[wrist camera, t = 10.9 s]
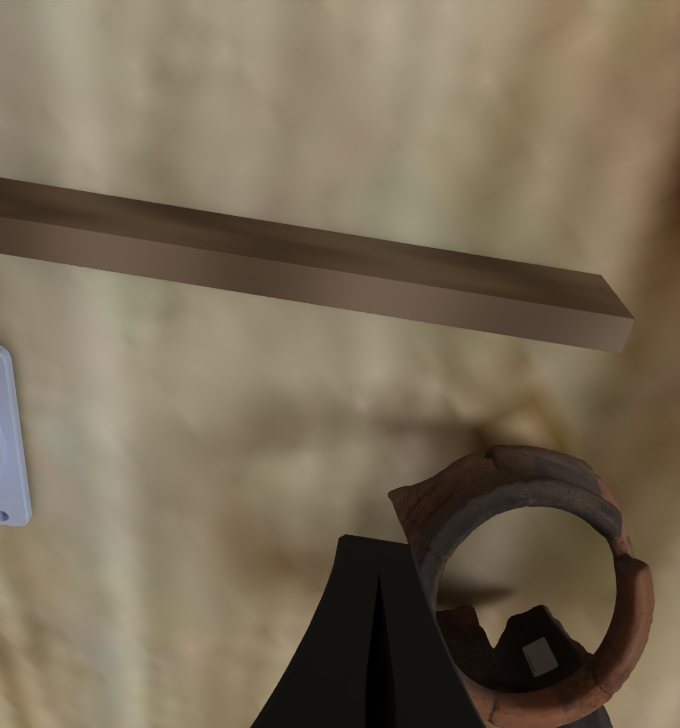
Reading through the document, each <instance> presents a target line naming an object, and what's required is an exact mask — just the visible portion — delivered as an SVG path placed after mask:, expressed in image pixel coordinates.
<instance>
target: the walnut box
mask: <svg viewBox="0 0 680 728" xmlns="http://www.w3.org/2000/svg"><path fill="white" fill-rule="evenodd" d="M0 253H1V254H7V255H13V256H19V257H25V258H32V259H38V260H44V261H50V262H56V263H63V264H69V265H75V266H81V267H87V268H94V269H100V270H106V271H112V272H118V273H124V274H131V275H137V276H143V277H149V278H155V279H162V280H168V281H174V282H180V283H186V284H193V285H199V286H205V287H211V288H217V289H224V290H230V291H236V292H242V293H248V294H254V295H261V296H267V297H273V298H279V299H285V300H292V301H298V302H304V303H310V304H316V305H323V306H329V307H335V308H341V309H347V310H354V311H360V312H366V313H372V314H378V315H384V316H391V317H397V318H403V319H409V320H415V321H422V322H428V323H434V324H440V325H446V326H453V327H459V328H465V329H471V330H477V331H484V332H490V333H496V334H502V335H508V336H514V337H521V338H527V339H533V340H539V341H545V342H552V343H558V344H564V345H570V346H576V347H583V348H589V349H595V350H601V351H607V352H614V353H620V354H621V352H622V350H623V348H624V345H625V343H626V340H627V338H628V336H629V333H630V331H631V328H632V326H633V324H634V321H635V318H634V317H633V316H632V314H631V313H630V312H629V311H628V309H627V308H626V307H625V305H624V304H623V303H622V302H621V300H620V299H619V298H618V296H617V295H616V294H615V293H614V291H613V290H612V289H611V287H610V286H609V285H608V284H607V282H606V281H605V280H604V278H603V277H602V276H601V275H595V274H589V273H583V272H577V271H570V270H564V269H558V268H552V267H546V266H540V265H533V264H527V263H521V262H515V261H509V260H503V259H496V258H490V257H484V256H478V255H472V254H466V253H459V252H453V251H447V250H441V249H435V248H429V247H422V246H416V245H410V244H404V243H398V242H392V241H385V240H379V239H373V238H367V237H361V236H355V235H349V234H342V233H336V232H330V231H324V230H318V229H312V228H305V227H299V226H293V225H287V224H281V223H275V222H268V221H262V220H256V219H250V218H244V217H238V216H231V215H225V214H219V213H213V212H207V211H201V210H194V209H188V208H182V207H176V206H170V205H164V204H158V203H151V202H145V201H139V200H133V199H127V198H121V197H114V196H108V195H102V194H96V193H90V192H84V191H77V190H71V189H65V188H59V187H53V186H47V185H40V184H34V183H28V182H22V181H16V180H10V179H3V178H0Z"/></svg>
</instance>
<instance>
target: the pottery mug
mask: <svg viewBox="0 0 680 728" xmlns="http://www.w3.org/2000/svg"><path fill="white" fill-rule="evenodd" d="M388 497H389V498H390V500H391V501H392V503H393V506H394V509H395V511H396V514H397V517H398V519H399V521H400V523H401V525H402V527H403V530H404V533H405V535H406V537H407V542H408V544H409V545H410V546H411V547H412V548H413V549H414V552H415V556H416V560H417V563H418V567H419V571H420V574H421V577H422V580H423V583H424V586H425V589H426V592H427V595H428V598H429V601H430V604H431V606H432V609H433V612H434V615H435V617H436V620H437V622H438V625H439V627H440V630H441V632H442V635H443V637H444V639H445V642H446V644H447V647H448V649H449V651H450V654H451V656H452V659H453V661H454V663H455V665H456V667H457V670H458V672H459V674H460V676H461V678H462V680H463V683H464V685H465V687H466V689H467V691H468V693H469V695H470V697H471V699H472V701H473V703H474V705H475V707H476V709H477V711H478V713H479V715H480V717H481V719H482V721H489V722H490V723H491V724H493V725H494V726H496V727H500V728H613V727H612V724H611V721H610V718H609V715H608V713H607V711H606V709H605V707H604V705H603V704H604V703H606V702H607V701H609V700H610V699H611V697H612V695H613V694H614V693H615V692H617V691H618V690H619V689H620V688H621V686H622V685H623V683H624V682H625V681H626V680H627V679H628V678H629V676H630V674H631V672H632V671H633V669H634V668H635V666H636V664H637V662H638V661H639V659H640V657H641V655H642V653H643V650H644V648H645V645H646V643H647V641H648V634H649V631H650V626H651V624H652V619H653V610H654V603H655V600H654V590H653V581H652V575H651V571H650V567H649V565H648V564H646V563H644V562H643V561H640V560H638V559H635V556H634V552H633V547H632V544H631V541H630V539H629V537H628V531H627V526H626V523H625V518H624V515H623V512H622V510H621V508H620V506H619V504H618V502H617V501H616V499H615V497H614V495H613V494H612V492H611V491H610V489H609V488H608V486H607V485H606V484H605V483H604V482H603V480H602V479H601V478H600V477H599V476H597V475H596V474H595V473H594V472H593V470H592V468H591V467H590V466H589V465H588V464H587V463H586V462H584V461H583V460H580V459H577V458H575V457H572V456H570V455H567V454H564V453H560V452H557V451H553V450H548V449H545V448H539V447H531V446H506V445H497V446H493V447H490V448H489V449H488V451H487V453H486V456H485V458H484V457H482V456H479V455H477V454H469V455H466V456H464V457H462V458H461V459H459V460H457V461H455V462H453V463H452V464H451V465H449V466H448V467H447V468H446V469H444V470H443V471H441V472H439V473H438V474H437V475H435V476H433V477H431V478H429V479H427V480H425V481H423V482H420V483H417V484H415V485H412V486H404V487H400V488H397V489H395V490H392V491H390V492H389V493H388ZM525 506H529V507H552V508H557V509H562V510H564V511H567V512H570V513H572V514H575V515H577V516H578V517H580V518H582V519H583V520H585V521H586V522H587V523H589V524H590V525H591V526H592V527H593V528H594V529H595V530H596V531H597V532H599V533H600V534H601V535H602V536H604V537H605V538H606V539H607V541H608V543H609V545H610V548H611V551H612V553H613V559H614V568H615V574H616V588H617V595H616V603H615V609H614V613H613V617H612V620H611V623H610V626H609V628H608V631H607V633H606V635H605V637H604V639H603V641H602V643H601V644H600V646H599V648H598V649H597V651H596V652H595V653H594V654H591V653H588V652H587V651H586V650H585V648H584V647H583V646H582V645H581V644H580V643H578V642H576V641H575V640H573V639H571V638H570V636H569V635H568V633H567V632H566V631H565V630H564V628H563V626H562V625H561V623H560V621H559V620H557V619H555V618H553V616H552V614H551V612H550V610H549V609H548V607H546V606H544V605H538V606H536V607H533V608H532V609H530V610H529V611H527V612H524V613H521V614H517V615H514V616H511V617H510V618H509V619H508V621H507V625H506V628H505V630H504V632H503V633H502V635H501V637H500V639H499V641H498V643H497V645H496V647H495V648H492V646H491V645H490V643H489V641H488V638H487V635H486V633H485V631H484V630H483V628H482V627H481V626H480V625H479V621H478V618H477V615H476V612H475V609H474V608H473V607H472V606H471V605H468V606H464V607H460V608H457V609H454V610H445V611H436V601H437V593H438V587H439V584H440V579H441V576H442V574H443V571H444V567H445V564H446V562H447V559H448V558H450V556H451V555H452V554H453V552H454V551H455V549H456V548H457V547H458V545H459V544H460V543H462V542H463V541H464V540H465V538H466V537H467V536H468V535H469V534H470V533H471V532H472V531H473V530H475V529H476V528H477V527H478V526H479V525H481V524H482V523H483V522H485V521H487V520H488V519H490V518H491V517H493V516H495V515H497V514H500V513H503V512H505V511H509V510H512V509H516V508H521V507H525Z"/></svg>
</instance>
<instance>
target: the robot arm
mask: <svg viewBox="0 0 680 728" xmlns="http://www.w3.org/2000/svg"><path fill="white" fill-rule="evenodd" d="M4 512H5V513H4ZM31 517H32V509H31V502H30V494H29V487H28V479H27V472H26V464H25V456H24V449H23V441H22V434H21V426H20V419H19V411H18V404H17V396H16V389H15V381H14V374H13V366H12V359H11V356H10V353H9V352H8V351H7V349H6V348H4V347H3V346H1V345H0V524H3V525H9V526H16V527H22V526H25V525H26V524H27V523H28V522H29V520H30V519H31ZM250 728H486V726H485V725H484V723H483V721H482V719H481V717H480V715H479V713H478V711H477V709H476V707H475V705H474V703H473V701H472V699H471V697H470V695H469V693H468V691H467V689H466V687H465V685H464V683H463V680H462V678H461V676H460V674H459V672H458V670H457V667H456V665H455V663H454V661H453V659H452V656H451V654H450V651H449V649H448V647H447V644H446V642H445V639H444V637H443V635H442V632H441V630H440V627H439V625H438V622H437V620H436V617H435V615H434V612H433V609H432V606H431V604H430V601H429V598H428V595H427V592H426V589H425V586H424V583H423V580H422V577H421V574H420V571H419V567H418V563H417V560H416V556H415V552H414V549H413V548H412V547H411V546H410V545H409V544H403V543H397V542H391V541H384V540H378V539H372V538H365V537H359V536H353V535H347V534H346V535H344V536H342V537H340V538H339V540H338V545H337V550H336V555H335V560H334V565H333V568H332V571H331V574H330V577H329V580H328V583H327V585H326V588H325V591H324V593H323V596H322V598H321V600H320V602H319V605H318V607H317V609H316V611H315V614H314V616H313V618H312V620H311V623H310V625H309V627H308V629H307V631H306V633H305V635H304V637H303V639H302V641H301V642H300V644H299V646H298V648H297V650H296V652H295V654H294V656H293V658H292V660H291V661H290V663H289V665H288V667H287V669H286V671H285V672H284V674H283V676H282V678H281V679H280V681H279V683H278V684H277V686H276V688H275V689H274V691H273V693H272V694H271V696H270V698H269V699H268V701H267V702H266V704H265V706H264V707H263V709H262V710H261V712H260V714H259V715H258V717H257V718H256V720H255V721H254V723H253V724H252V726H251V727H250Z"/></svg>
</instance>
